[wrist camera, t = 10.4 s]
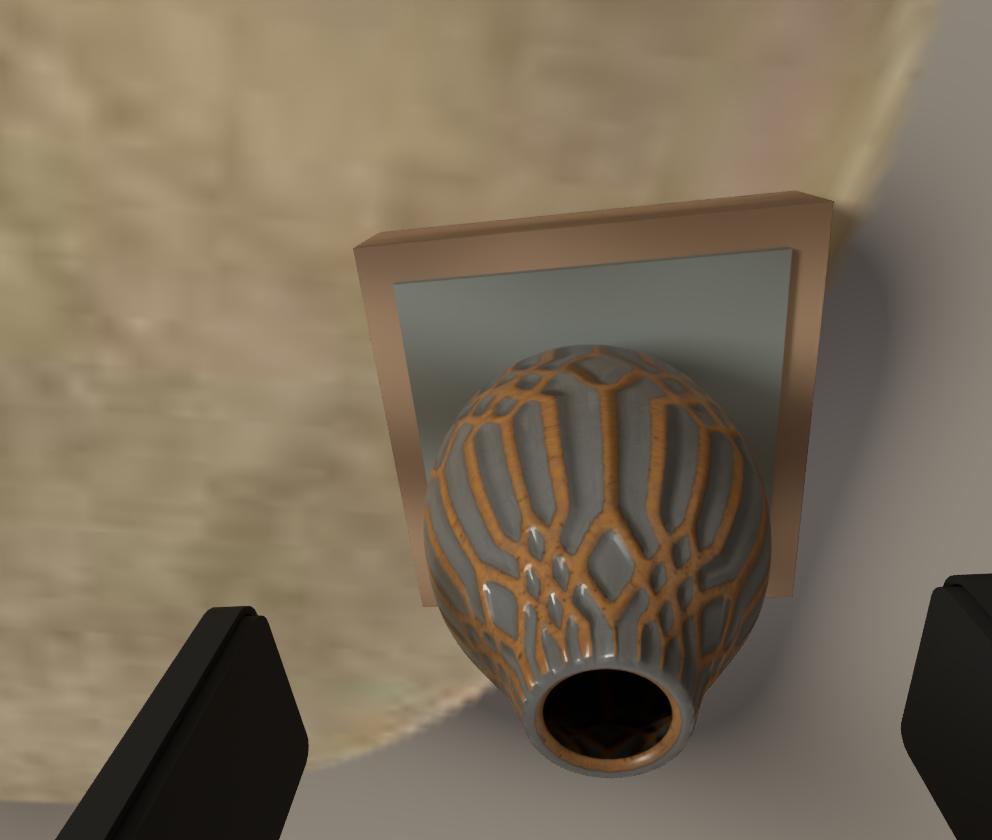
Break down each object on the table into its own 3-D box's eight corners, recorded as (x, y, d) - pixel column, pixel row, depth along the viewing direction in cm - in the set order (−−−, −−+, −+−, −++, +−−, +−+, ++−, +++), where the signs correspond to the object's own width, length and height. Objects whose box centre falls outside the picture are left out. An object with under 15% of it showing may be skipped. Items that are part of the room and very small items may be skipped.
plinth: (379, 232, 18) (349, 250, 15) (795, 190, 16) (838, 202, 14) (436, 557, 22) (421, 613, 20) (767, 546, 21) (795, 604, 18)
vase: (529, 259, 15) (498, 410, 7) (776, 391, 16) (1001, 662, 8) (411, 482, 18) (293, 772, 10) (626, 584, 19) (679, 928, 11)
